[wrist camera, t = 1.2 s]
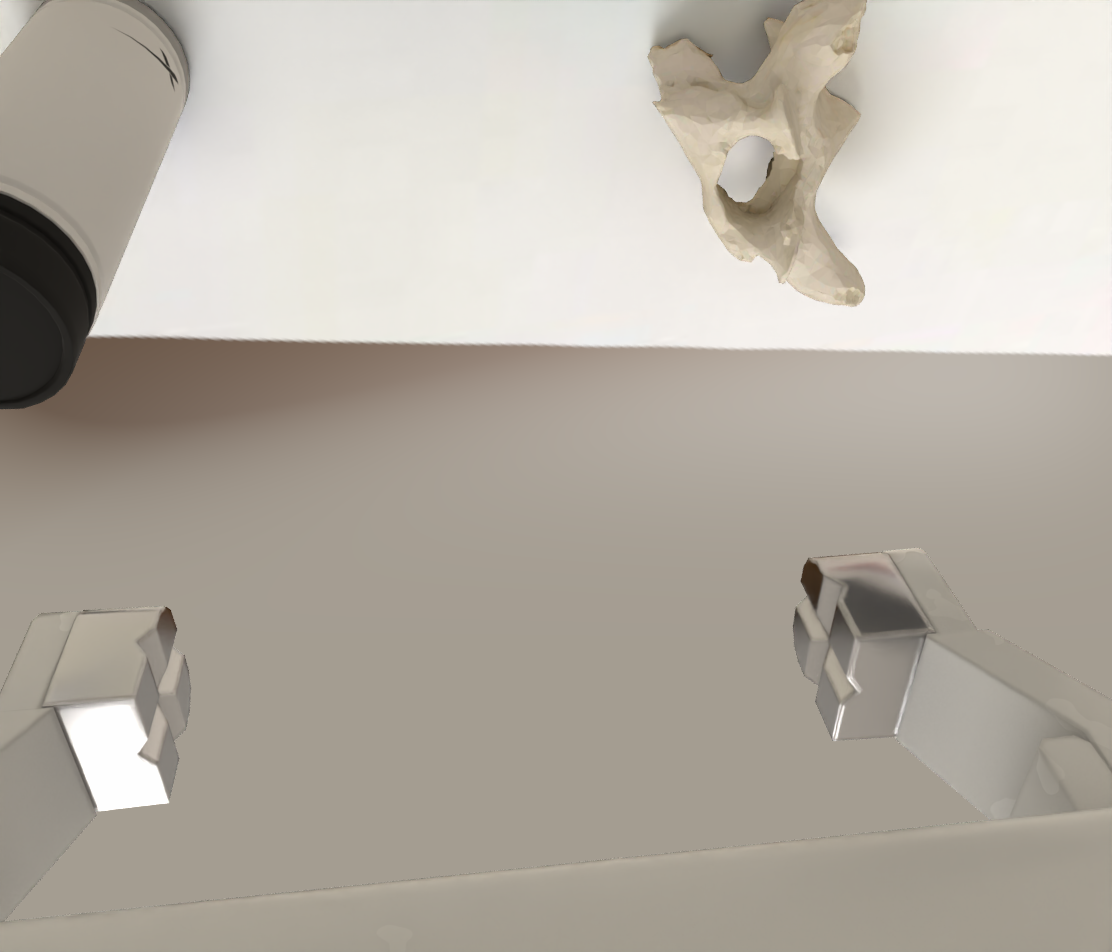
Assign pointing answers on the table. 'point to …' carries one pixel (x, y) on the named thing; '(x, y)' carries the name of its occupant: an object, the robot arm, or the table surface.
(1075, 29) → the table surface
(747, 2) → the table surface
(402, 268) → the table surface
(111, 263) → the travel mug
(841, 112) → the bone
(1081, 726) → the robot arm
